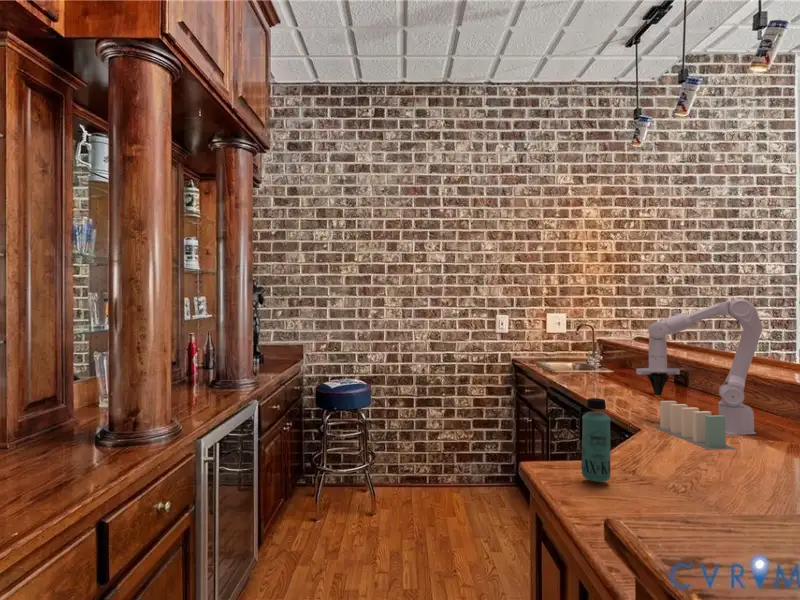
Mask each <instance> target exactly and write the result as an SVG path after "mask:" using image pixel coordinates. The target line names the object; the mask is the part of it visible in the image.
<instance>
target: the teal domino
mask: <svg viewBox="0 0 800 600" xmlns="http://www.w3.org/2000/svg"><path fill="white" fill-rule="evenodd" d="M705 437H706V446H707V447H725V444H726V433H725V416H722V415H719V414H714V415H705Z"/></svg>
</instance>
